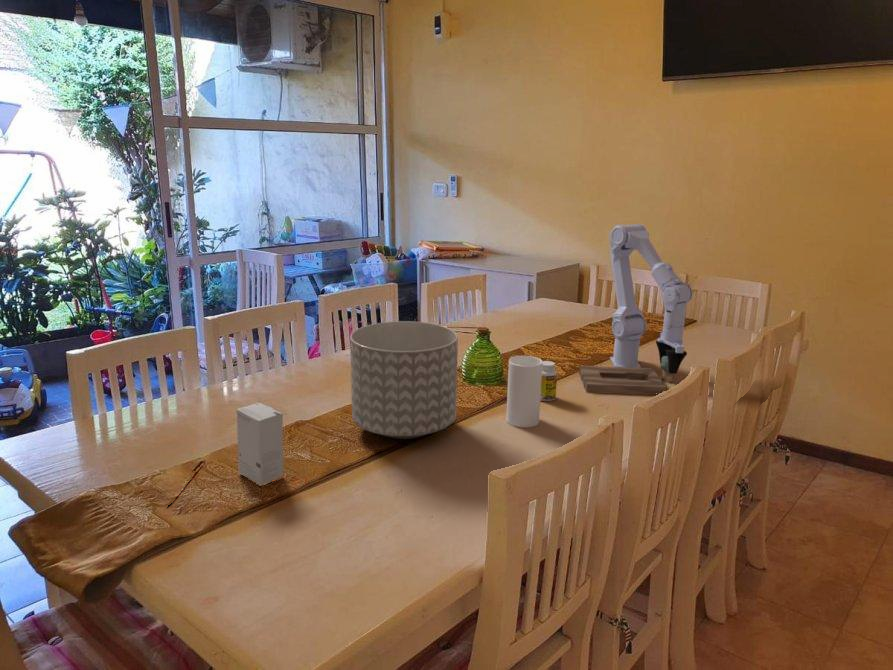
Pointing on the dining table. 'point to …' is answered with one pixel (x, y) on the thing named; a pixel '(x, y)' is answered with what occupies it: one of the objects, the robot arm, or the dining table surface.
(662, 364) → the peg
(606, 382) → the keyhole board
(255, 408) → the skincare box
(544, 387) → the supplement bottle
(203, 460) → the pen
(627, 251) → the robot arm
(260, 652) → the dining table surface
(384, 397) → the planter
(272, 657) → the dining table surface
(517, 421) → the cup
